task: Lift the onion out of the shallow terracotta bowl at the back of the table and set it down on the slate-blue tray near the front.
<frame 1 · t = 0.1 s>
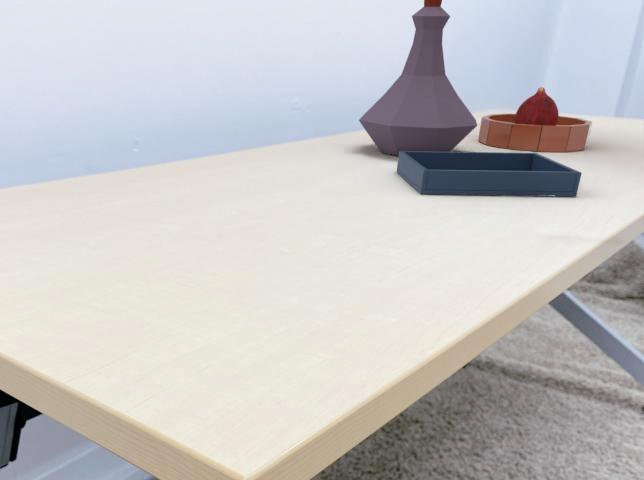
flask: (413, 153, 98), on the table
bowl: (531, 143, 106), on the table
onion: (531, 145, 106), resting in bowl
tray: (479, 183, 79), on the table
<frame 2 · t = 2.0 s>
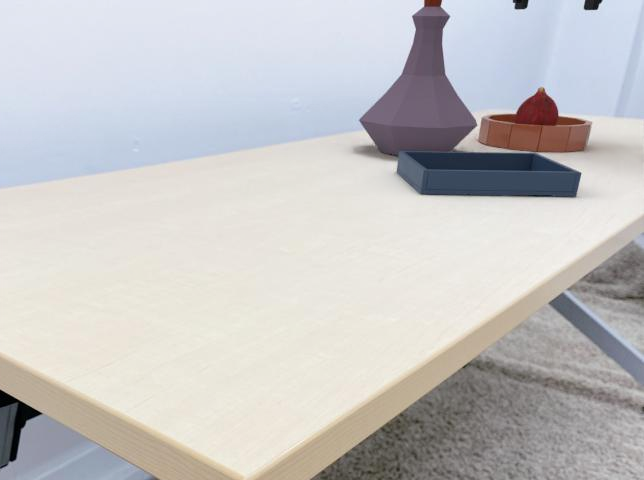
hand: (555, 9, 100), 18 cm above the table, tool pointing down, fingers open, 9 cm apart
nothing on the table moved.
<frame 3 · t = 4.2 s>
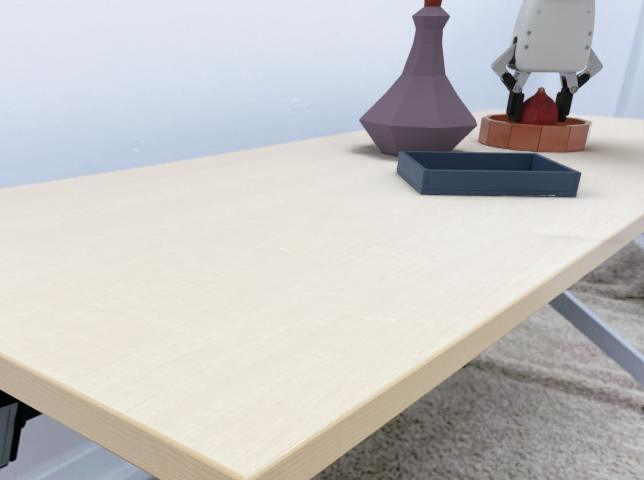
hand: (536, 119, 104), 3 cm above the table, tool pointing down, fingers closed on onion, 5 cm apart
onion: (531, 145, 106), resting in bowl, touching gripper
everything else where it was.
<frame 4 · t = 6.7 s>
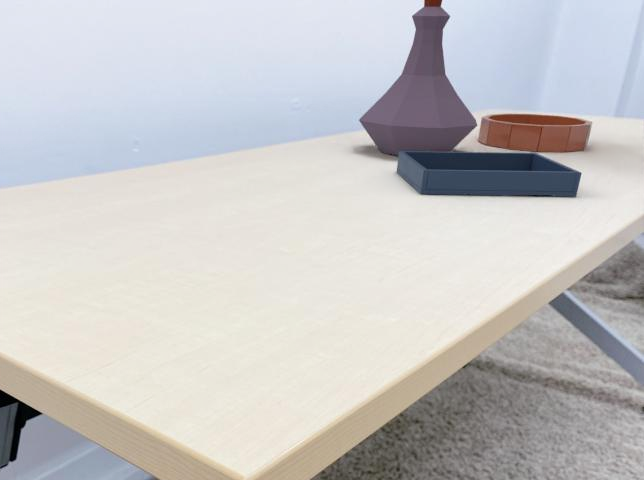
onion: (561, 1, 97), point 19 cm above the table, touching gripper
everything else where it was.
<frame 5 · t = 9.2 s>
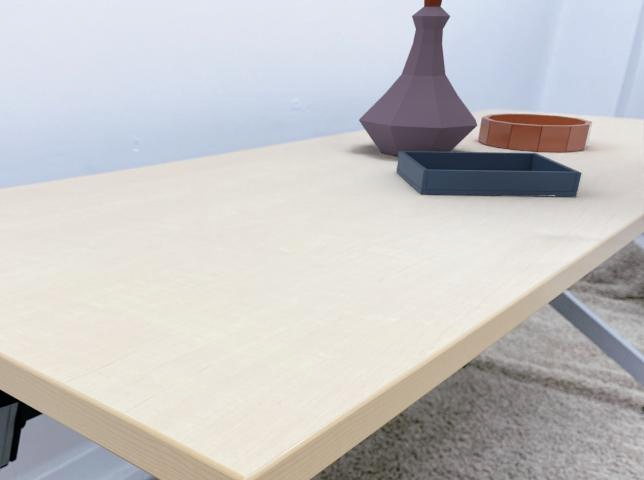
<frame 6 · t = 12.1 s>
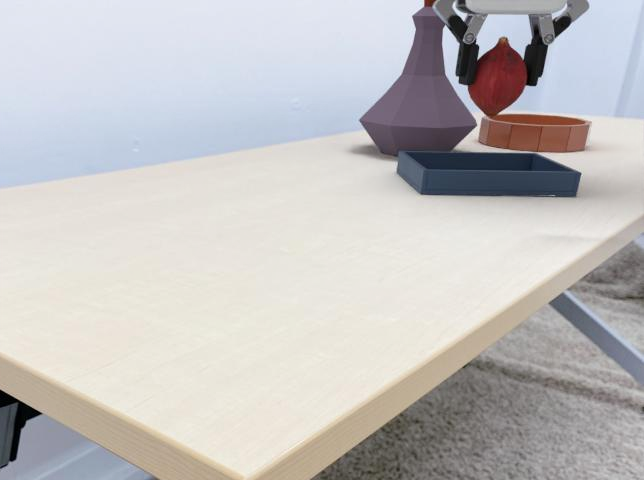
hand: (496, 83, 75), 11 cm above the table, tool pointing down, fingers closed on onion, 5 cm apart
onion: (490, 118, 76), point 7 cm above the table, touching gripper
everything else where it was.
when the fingers open (4 cm above the table, at t = 14.2 s): onion stays where it is, resting on tray.
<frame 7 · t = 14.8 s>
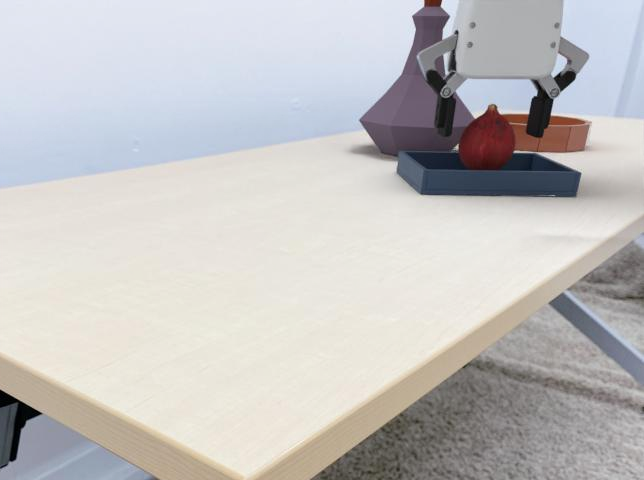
hand: (488, 135, 77), 5 cm above the table, tool pointing down, fingers open, 9 cm apart
onion: (480, 180, 79), resting on tray
everything else where it was.
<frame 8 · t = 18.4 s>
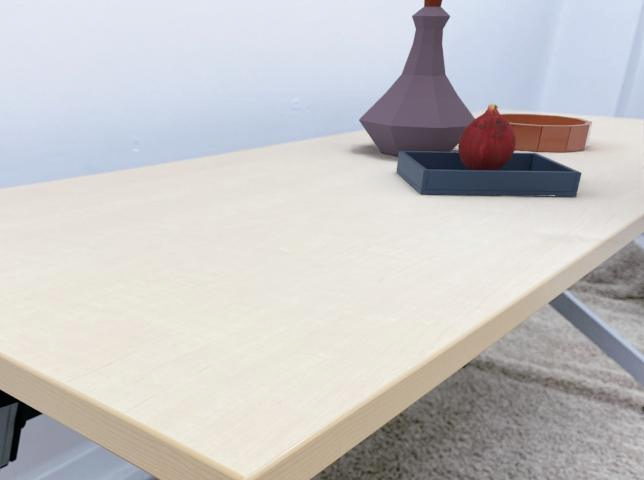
nothing on the table moved.
at the end: onion inside the target area in the tray (0.1 cm from its centre), point 0.3 cm above the tray's base; the gripper is holding nothing; onion moved 34.4 cm from its start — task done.
